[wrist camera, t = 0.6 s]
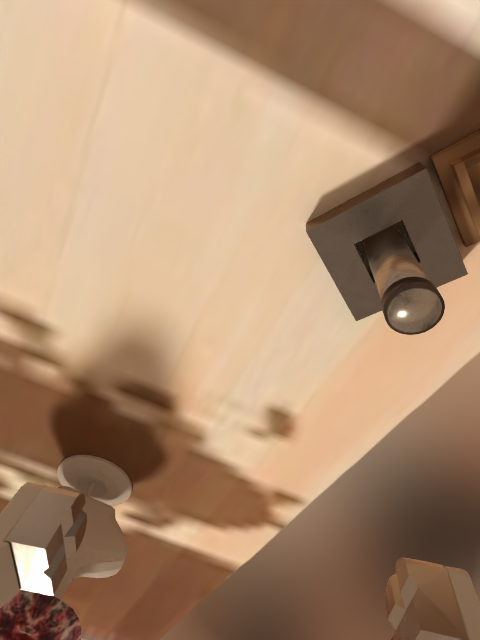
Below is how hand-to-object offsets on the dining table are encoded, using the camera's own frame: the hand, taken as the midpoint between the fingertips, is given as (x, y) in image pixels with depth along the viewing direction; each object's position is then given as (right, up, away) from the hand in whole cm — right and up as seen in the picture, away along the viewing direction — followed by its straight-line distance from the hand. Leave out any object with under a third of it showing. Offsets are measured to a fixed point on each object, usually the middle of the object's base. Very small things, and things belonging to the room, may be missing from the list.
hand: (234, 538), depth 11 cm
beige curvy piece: (-26, -24, +63) cm, 72 cm away
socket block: (+15, +14, +33) cm, 39 cm away
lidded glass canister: (+15, +14, +33) cm, 39 cm away
